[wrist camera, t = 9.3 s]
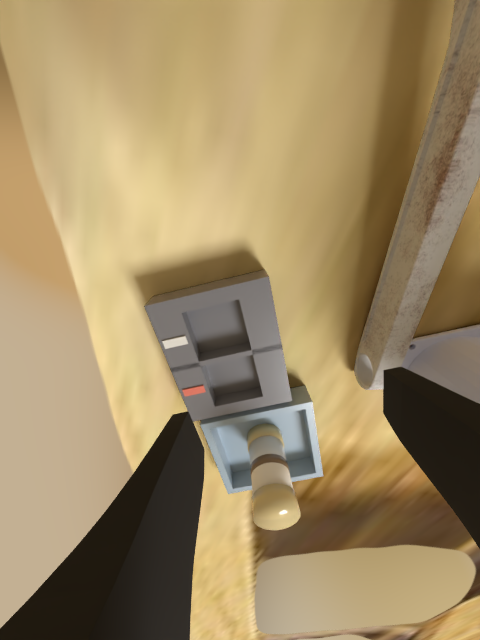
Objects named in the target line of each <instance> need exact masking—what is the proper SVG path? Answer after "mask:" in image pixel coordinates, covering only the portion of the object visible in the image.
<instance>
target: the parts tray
mask: <svg viewBox="0 0 480 640" xmlns="http://www.w3.org/2000/svg"><path fill="white" fill-rule="evenodd" d="M290 391H291V397H292V401H289V402H284V403H280V404H275V405H270V406H265V407H260V408H256V409H251V410H246V411H241V412H237V413H232V414H227V415H222V416H217V417H213V418H208V419H203V420H201V424H200V425H201V428H202V430H203V433H204V435H205V438H206V440H207V443H208V445H209V448H210V450H211V453H212V455H213V457H214V460H215V462H216V465H217V467H218V470H219V472H220V475H221V477H222V480H223V482H224V485H225V487H226V490H227V492H228V494H231V493H236V492H242V491H247V490H252V480H251V472H250V456H249V452H248V446H247V434H248V432H249V430H250V429H251V428H253V427H254V426H256V425H259V424H264V423H267V424H273V425H275V426H277V427H278V428H279V429H280V431H281V433H282V437H283V442H284V451H285V455H286V460H287V463H288V467H289V471H290V477H291V481H292V482H294V481H299V480H305V479H310V478H315V477H320V476H323V471H322V464H321V458H320V451H319V444H318V437H317V430H316V424H315V417H314V410H313V403H312V400H311V398H310V395H309V393H308V391H307V389H306V386H305V385H304V386H299V387H295V388H290Z"/></svg>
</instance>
